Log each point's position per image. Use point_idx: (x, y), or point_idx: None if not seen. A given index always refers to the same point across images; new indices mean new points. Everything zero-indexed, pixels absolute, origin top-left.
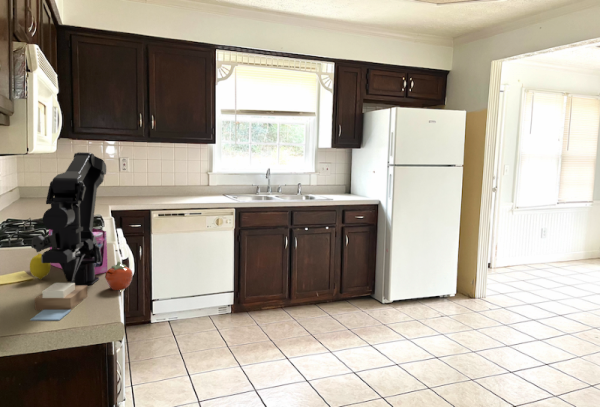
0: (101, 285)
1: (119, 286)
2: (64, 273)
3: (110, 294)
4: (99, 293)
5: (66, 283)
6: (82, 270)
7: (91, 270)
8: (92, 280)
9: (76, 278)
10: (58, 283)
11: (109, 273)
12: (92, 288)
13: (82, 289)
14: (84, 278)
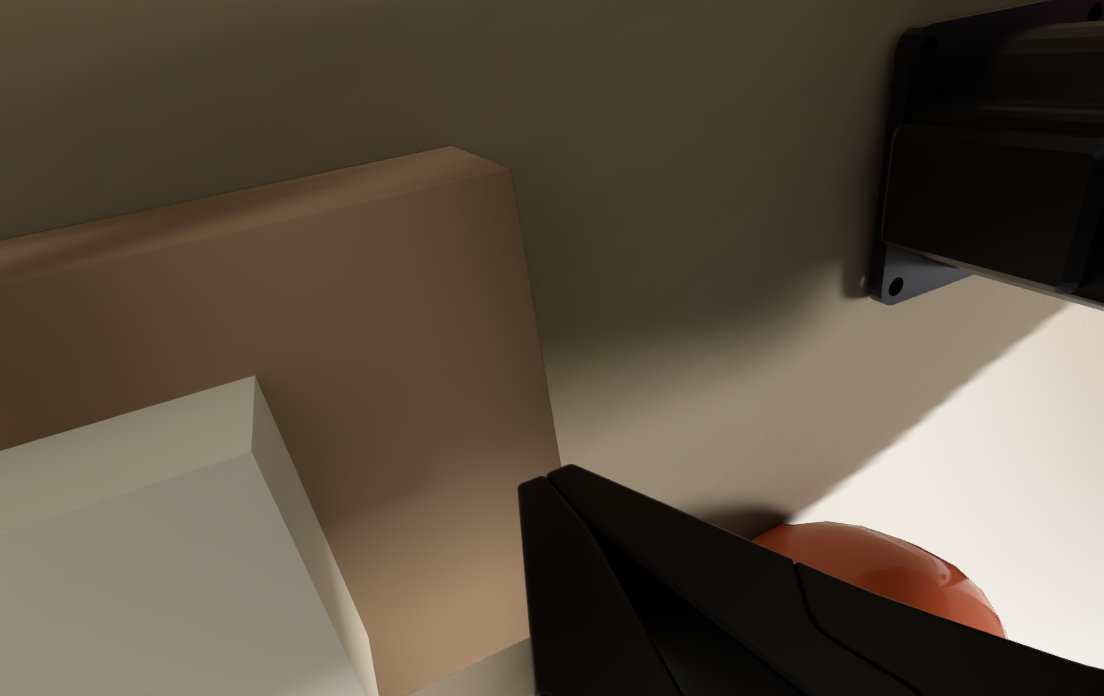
0: (851, 388)
1: None
2: (529, 629)
3: None
4: None
5: (299, 670)
6: (1061, 274)
7: (1085, 305)
8: (953, 268)
9: (951, 161)
10: (232, 553)
11: (933, 566)
12: (770, 376)
13: (414, 687)
14: (939, 259)
